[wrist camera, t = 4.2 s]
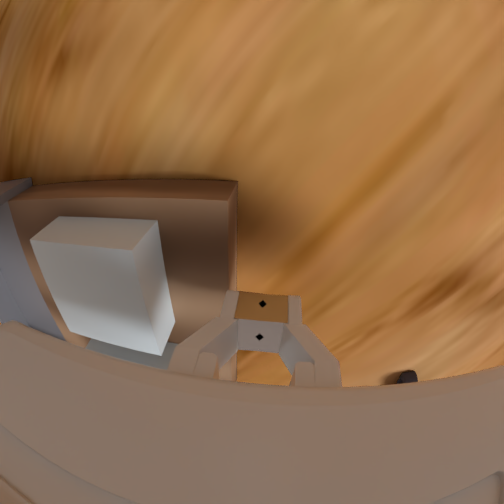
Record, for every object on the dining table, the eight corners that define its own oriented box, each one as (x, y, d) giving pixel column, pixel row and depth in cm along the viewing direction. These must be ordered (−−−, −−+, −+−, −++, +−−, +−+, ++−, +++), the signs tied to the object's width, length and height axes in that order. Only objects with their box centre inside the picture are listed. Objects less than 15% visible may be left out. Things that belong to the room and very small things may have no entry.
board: (32, 185, 13) (7, 201, 11) (237, 181, 12) (227, 200, 10) (93, 347, 22) (82, 366, 20) (237, 377, 21) (232, 403, 19)
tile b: (98, 326, 16) (82, 352, 14) (180, 344, 15) (169, 376, 13) (123, 375, 19) (113, 398, 17) (193, 391, 18) (185, 418, 16)
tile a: (58, 216, 11) (29, 239, 9) (157, 220, 11) (131, 250, 9) (88, 304, 14) (69, 331, 12) (175, 321, 14) (161, 355, 12)
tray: (-25, 187, 14) (-51, 204, 11) (30, 177, 13) (-6, 198, 10) (32, 327, 23) (18, 348, 20) (95, 351, 22) (81, 378, 19)
